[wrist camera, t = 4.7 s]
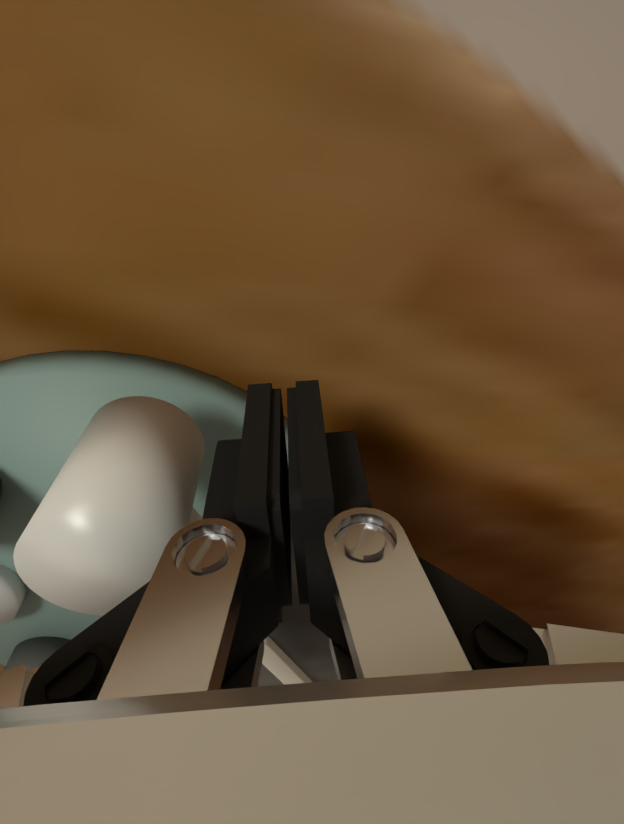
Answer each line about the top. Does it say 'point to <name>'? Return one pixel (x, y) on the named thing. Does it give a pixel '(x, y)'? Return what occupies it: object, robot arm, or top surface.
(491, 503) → the top surface
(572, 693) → the robot arm
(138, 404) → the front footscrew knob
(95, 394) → the instrument base
